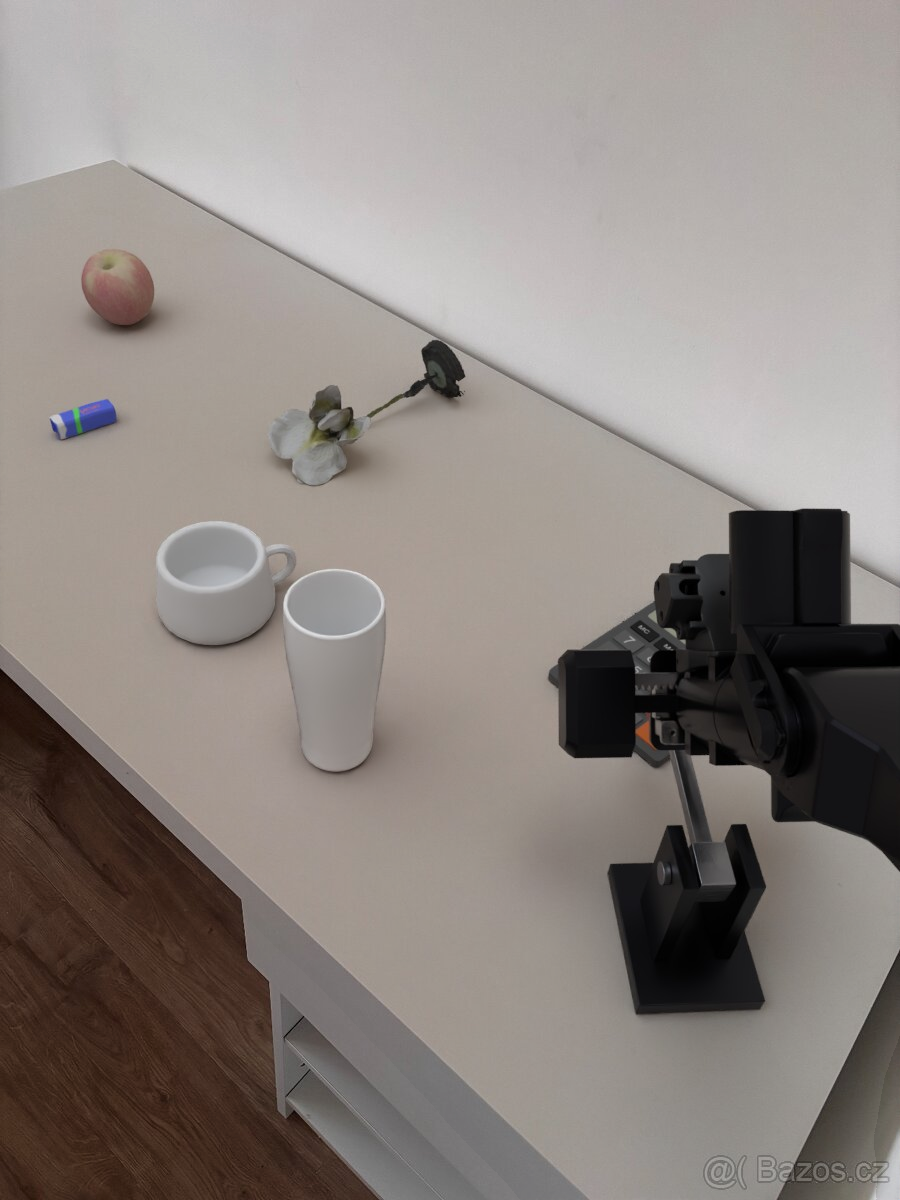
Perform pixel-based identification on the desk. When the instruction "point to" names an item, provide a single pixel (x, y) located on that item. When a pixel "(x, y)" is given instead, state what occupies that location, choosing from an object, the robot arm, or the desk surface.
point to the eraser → (83, 419)
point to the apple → (118, 286)
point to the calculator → (638, 664)
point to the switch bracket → (688, 929)
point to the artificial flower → (348, 420)
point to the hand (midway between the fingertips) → (674, 691)
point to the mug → (217, 582)
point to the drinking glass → (335, 663)
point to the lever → (702, 835)
